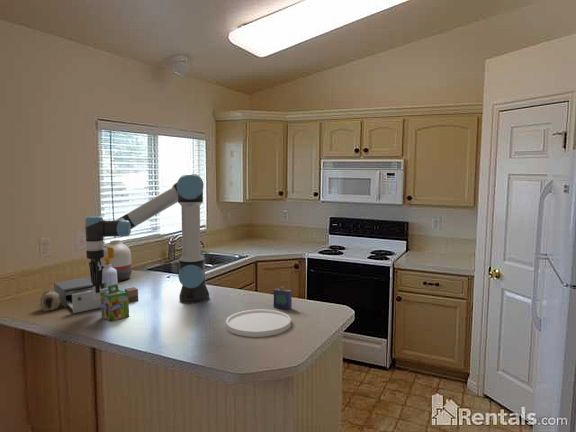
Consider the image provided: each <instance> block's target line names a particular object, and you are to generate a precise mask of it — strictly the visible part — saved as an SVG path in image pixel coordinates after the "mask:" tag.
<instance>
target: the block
mask: <svg viewBox="0 0 576 432" xmlns="http://www.w3.org/2000/svg"><path fill="white" fill-rule="evenodd" d="M124 291H125V292H128V300H129V303H133V302H138V301H139V289H138V288H136V287H135V286H133V287H129V288H124Z"/></svg>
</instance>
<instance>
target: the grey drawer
mask: <svg viewBox="0 0 576 432" xmlns="http://www.w3.org/2000/svg"><path fill="white" fill-rule="evenodd" d="M85 290H93V287H89V288H83V289H77V290H72V291H66V292H65V293H66V295H72V303H71V302H70V301H68V300H66V304H67V305H68V306H69V307H68V308H70V309H72V313H73V314H76V313H82V312H85V311H89V310H90V311H91V310H95V309H101V299H96V300H94V296H93V291H88V292H82V293H80V292H81V291H85ZM111 290H113V288H111ZM107 291H109V290H108V288H105V289H101V286H100V293H103V292H107Z"/></svg>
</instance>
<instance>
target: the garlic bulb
mask: <svg viewBox="0 0 576 432" xmlns="http://www.w3.org/2000/svg"><path fill="white" fill-rule="evenodd" d="M39 302H40V307H41V308H42V310H43V312H51V311H50V310H52V311H54V310H57V309H58V308H59V306H60V305H61V304H60V302H61V299H60V295H59V294H58V293H56V292H55V291H54V290H53V289H52V290H50V289H48V290H46V291H44V292H43V293H42V295H41V296H40V299H39Z"/></svg>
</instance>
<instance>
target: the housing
mask: <svg viewBox="0 0 576 432" xmlns="http://www.w3.org/2000/svg"><path fill="white" fill-rule="evenodd" d="M100 286H101V289H105V288H106V283H105V282H104V281H102V285H100ZM53 287H54V288H53V289H54V291H55V292H56V293H58V294H59V295H60V299H61V302H60V303H61V304H62V305H63V306H64V307H63V306H62V305H61V304H60V305H61V306H62V307H63V308H69V307H68V305H67V304H66V300H68V301H70V302H71V303H72V295H66V293H65V292H66V291H72V290H77V289H83V288H89V287H93V284H92V283H91V276H87V277H81V278H79V277H78V278H74V279H67V280H62V281H56V282H53Z"/></svg>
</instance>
